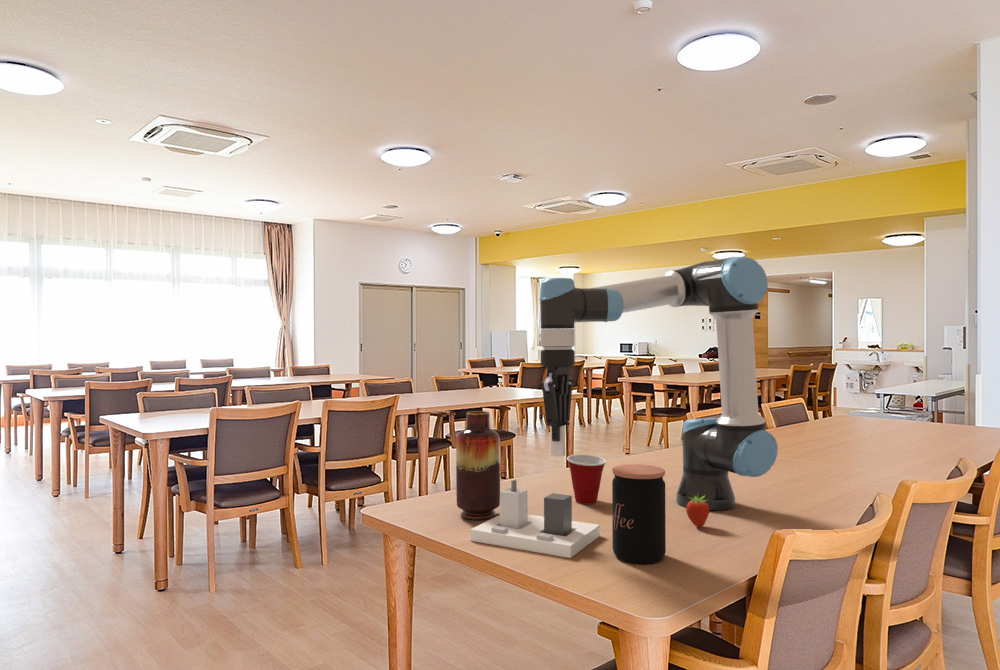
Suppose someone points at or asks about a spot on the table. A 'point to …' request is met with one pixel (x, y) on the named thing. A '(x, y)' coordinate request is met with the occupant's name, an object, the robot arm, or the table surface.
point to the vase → (478, 468)
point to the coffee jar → (638, 513)
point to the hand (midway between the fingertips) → (558, 455)
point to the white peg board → (530, 528)
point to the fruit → (697, 511)
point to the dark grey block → (558, 514)
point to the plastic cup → (586, 477)
